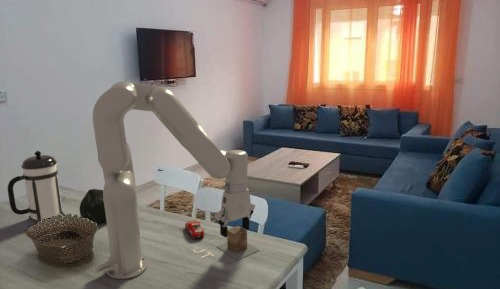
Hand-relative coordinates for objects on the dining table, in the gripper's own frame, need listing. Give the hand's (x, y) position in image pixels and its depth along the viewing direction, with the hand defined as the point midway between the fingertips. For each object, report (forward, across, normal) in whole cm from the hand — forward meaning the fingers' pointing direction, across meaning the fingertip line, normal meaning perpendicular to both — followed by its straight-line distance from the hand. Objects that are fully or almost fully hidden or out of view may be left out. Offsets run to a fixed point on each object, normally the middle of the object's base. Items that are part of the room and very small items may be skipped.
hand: (235, 232), depth 129 cm
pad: (+7, +1, 0) cm, 7 cm away
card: (+7, -3, +20) cm, 22 cm away
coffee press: (+10, -46, +74) cm, 87 cm away
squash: (+9, -28, +58) cm, 64 cm away
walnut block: (+6, +1, 0) cm, 6 cm away
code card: (+7, -10, +6) cm, 13 cm away
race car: (+7, -4, +21) cm, 22 cm away
